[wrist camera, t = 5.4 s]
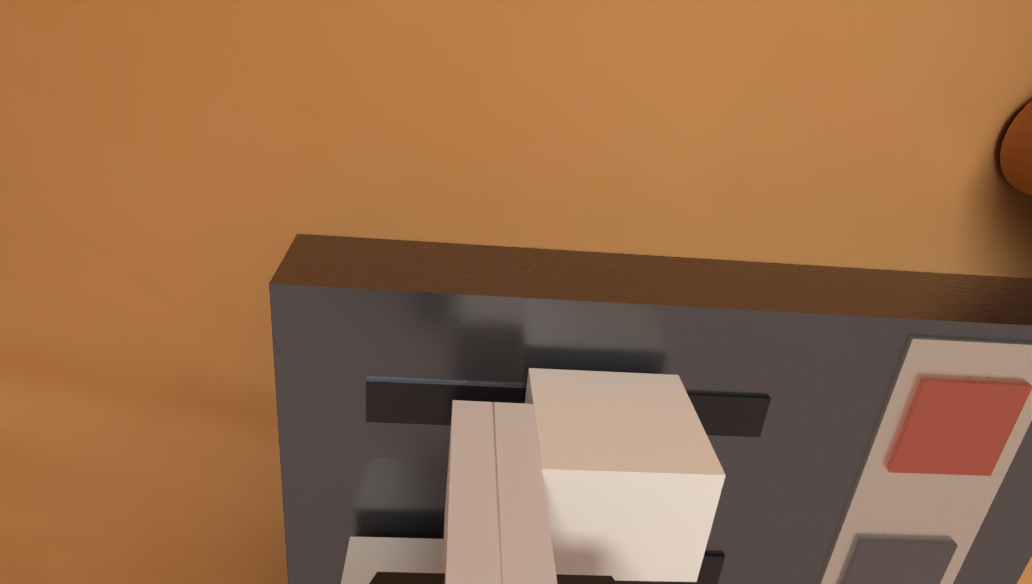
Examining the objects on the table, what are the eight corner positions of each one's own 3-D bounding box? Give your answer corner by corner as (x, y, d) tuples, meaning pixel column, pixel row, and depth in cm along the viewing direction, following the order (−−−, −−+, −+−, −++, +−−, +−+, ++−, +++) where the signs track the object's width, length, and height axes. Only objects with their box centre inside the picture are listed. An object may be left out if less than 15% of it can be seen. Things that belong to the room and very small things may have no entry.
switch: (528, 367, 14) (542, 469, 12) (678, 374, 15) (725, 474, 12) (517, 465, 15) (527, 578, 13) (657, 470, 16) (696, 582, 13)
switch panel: (297, 234, 16) (265, 289, 13) (1064, 281, 18) (1162, 338, 15) (316, 667, 22) (297, 760, 20) (884, 672, 24) (932, 758, 21)
